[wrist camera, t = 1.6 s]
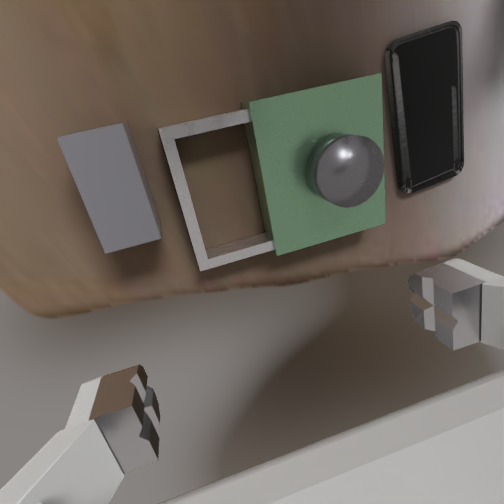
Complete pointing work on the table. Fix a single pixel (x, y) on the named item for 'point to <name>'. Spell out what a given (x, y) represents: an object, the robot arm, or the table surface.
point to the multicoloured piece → (300, 167)
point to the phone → (426, 105)
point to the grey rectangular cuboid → (112, 185)
